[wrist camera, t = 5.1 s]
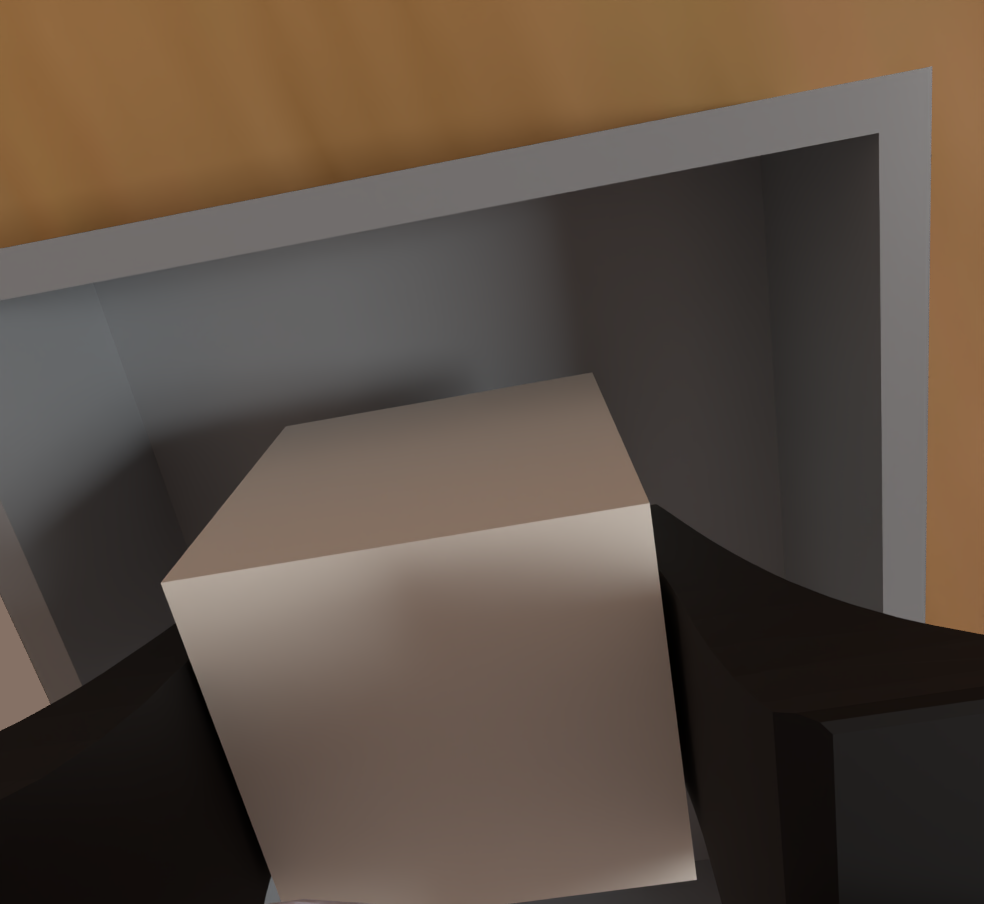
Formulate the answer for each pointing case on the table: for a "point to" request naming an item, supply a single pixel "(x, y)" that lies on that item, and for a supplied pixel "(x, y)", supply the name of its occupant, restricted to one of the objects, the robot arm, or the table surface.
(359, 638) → the cube
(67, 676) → the box
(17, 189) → the table surface
